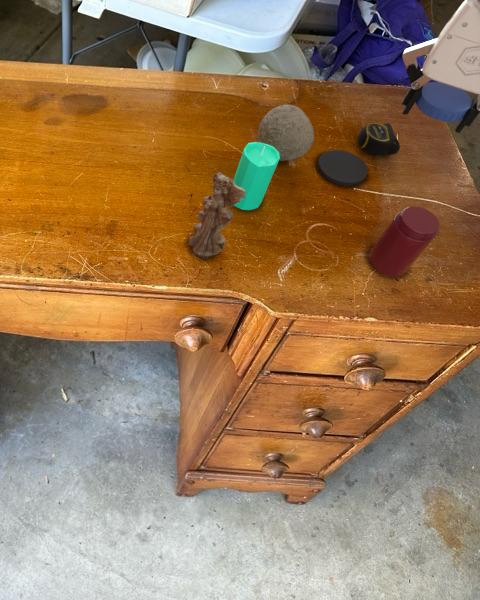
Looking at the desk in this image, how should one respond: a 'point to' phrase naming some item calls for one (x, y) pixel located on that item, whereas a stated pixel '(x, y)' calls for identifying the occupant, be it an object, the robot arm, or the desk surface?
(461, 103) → the jam lid
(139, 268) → the desk surface
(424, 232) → the jam jar
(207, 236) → the figurine
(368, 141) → the tape measure
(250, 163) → the candle
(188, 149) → the desk surface
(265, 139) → the decorative stone
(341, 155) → the coaster
